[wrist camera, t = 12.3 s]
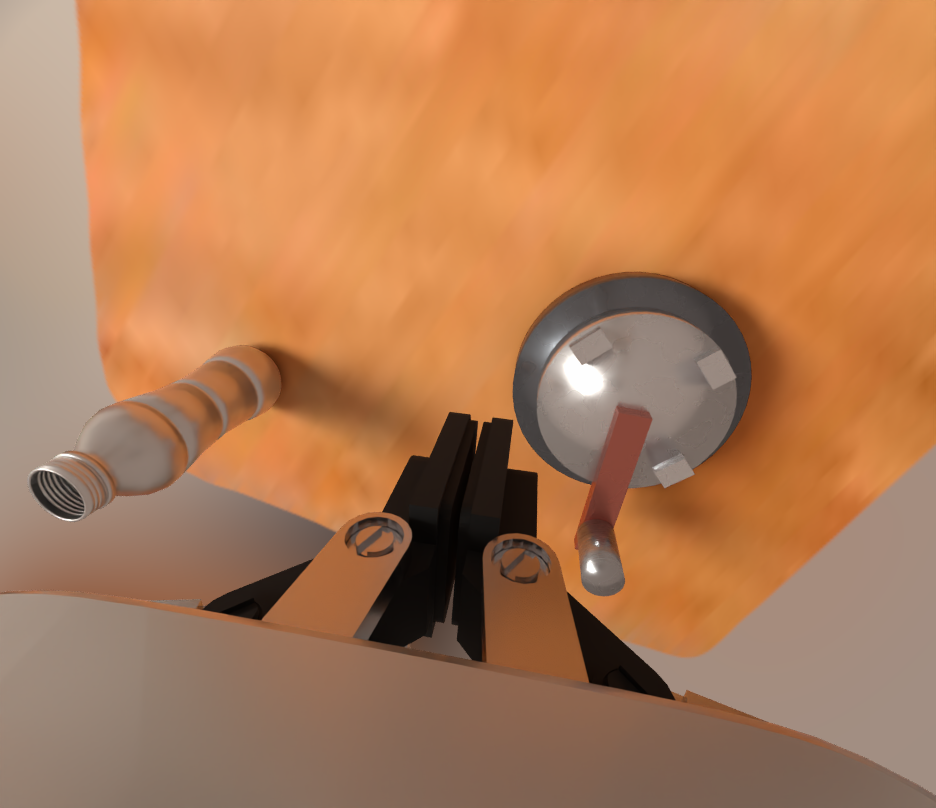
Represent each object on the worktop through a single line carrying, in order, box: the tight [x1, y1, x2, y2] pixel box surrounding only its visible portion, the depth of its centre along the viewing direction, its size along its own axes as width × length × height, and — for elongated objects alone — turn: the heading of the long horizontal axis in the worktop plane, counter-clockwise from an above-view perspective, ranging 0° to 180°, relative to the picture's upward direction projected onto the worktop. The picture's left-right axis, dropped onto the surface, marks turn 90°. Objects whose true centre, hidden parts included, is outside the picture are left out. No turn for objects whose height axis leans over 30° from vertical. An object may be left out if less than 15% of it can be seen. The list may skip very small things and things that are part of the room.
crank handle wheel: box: [537, 307, 737, 596], centre depth 32 cm, size 14×20×9 cm
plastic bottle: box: [27, 345, 281, 522], centre depth 34 cm, size 6×7×20 cm
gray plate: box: [513, 272, 751, 485], centre depth 37 cm, size 18×18×3 cm
